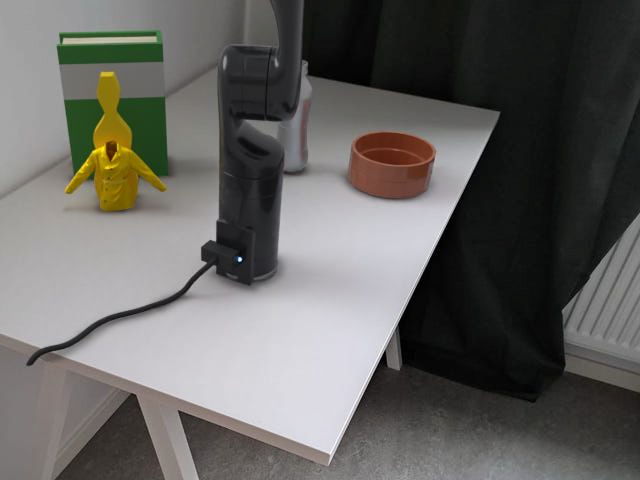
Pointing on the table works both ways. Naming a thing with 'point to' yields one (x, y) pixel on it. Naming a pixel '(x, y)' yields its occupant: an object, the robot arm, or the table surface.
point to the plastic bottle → (297, 129)
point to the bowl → (391, 164)
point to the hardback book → (135, 97)
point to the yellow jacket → (113, 155)
